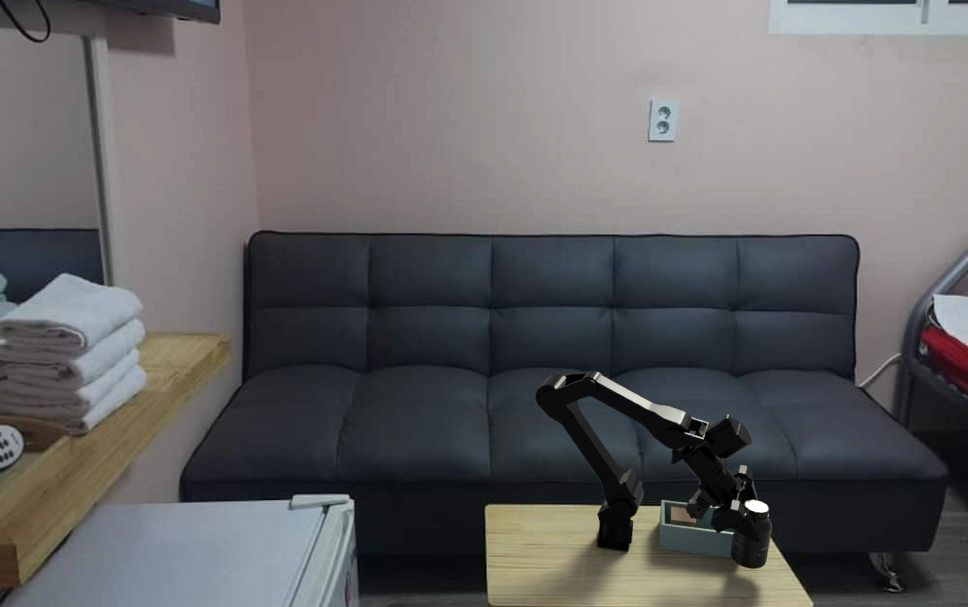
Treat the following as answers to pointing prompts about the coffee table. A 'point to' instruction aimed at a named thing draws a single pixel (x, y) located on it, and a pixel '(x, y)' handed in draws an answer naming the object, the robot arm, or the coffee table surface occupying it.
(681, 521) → the walnut cube
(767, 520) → the supplement bottle
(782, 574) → the coffee table surface
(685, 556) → the coffee table surface
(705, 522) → the tote
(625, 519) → the robot arm
